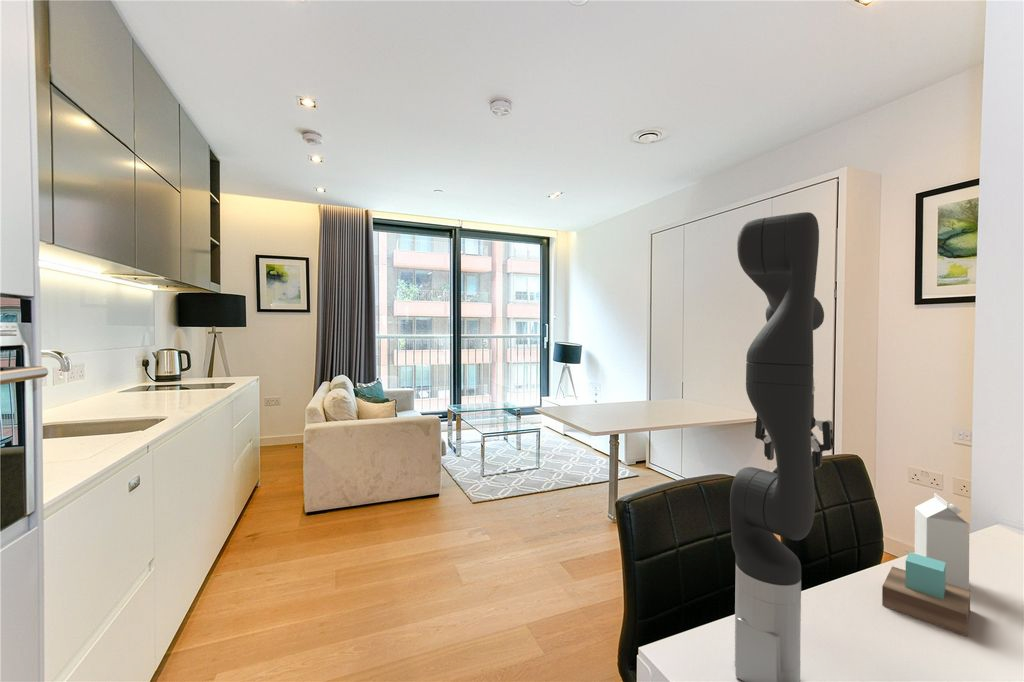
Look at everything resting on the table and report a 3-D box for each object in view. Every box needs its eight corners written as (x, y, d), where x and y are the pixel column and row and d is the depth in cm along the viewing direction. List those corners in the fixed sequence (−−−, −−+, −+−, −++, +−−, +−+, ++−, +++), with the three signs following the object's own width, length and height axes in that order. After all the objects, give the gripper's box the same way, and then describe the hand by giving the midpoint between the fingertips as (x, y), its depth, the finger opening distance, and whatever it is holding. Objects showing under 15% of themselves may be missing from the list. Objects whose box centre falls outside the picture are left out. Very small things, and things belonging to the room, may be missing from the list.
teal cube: (943, 599, 83) (943, 571, 83) (905, 587, 87) (905, 560, 87) (945, 588, 87) (945, 562, 87) (909, 577, 91) (909, 552, 91)
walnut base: (966, 636, 79) (967, 614, 79) (882, 605, 88) (882, 586, 88) (969, 609, 86) (970, 590, 86) (892, 583, 96) (892, 566, 96)
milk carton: (926, 583, 96) (926, 500, 96) (914, 568, 102) (914, 490, 102) (969, 592, 93) (970, 506, 93) (954, 576, 99) (955, 495, 99)
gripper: (751, 388, 95) (750, 459, 95) (827, 394, 85) (827, 475, 85) (763, 386, 100) (762, 454, 100) (837, 392, 89) (836, 468, 89)
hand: (792, 463), depth 92 cm, fingers open, 8 cm apart
